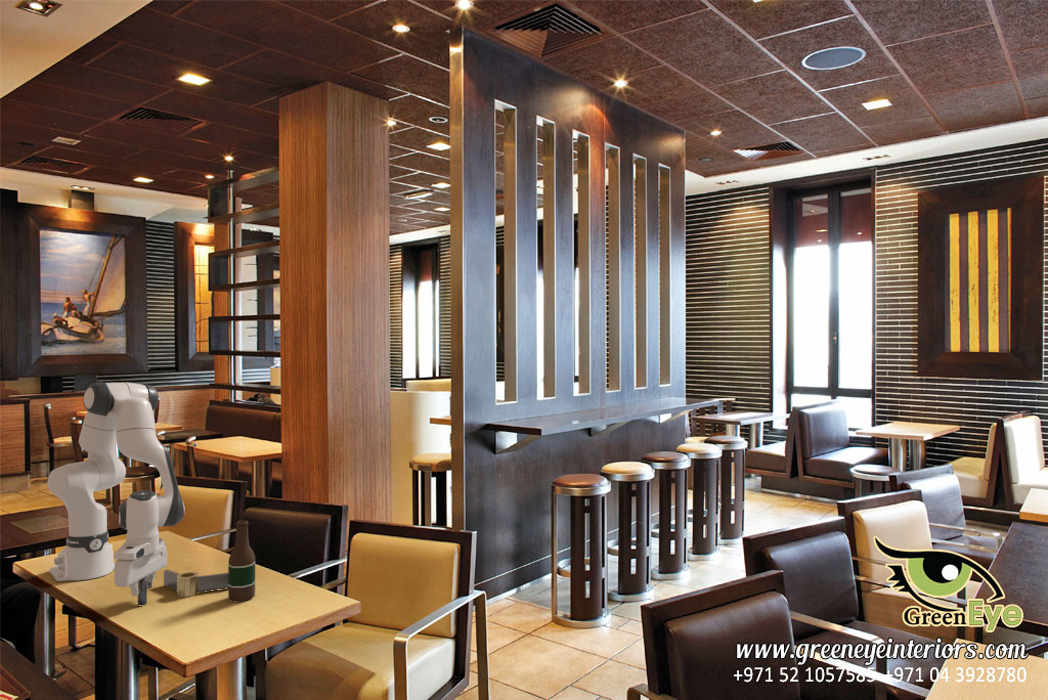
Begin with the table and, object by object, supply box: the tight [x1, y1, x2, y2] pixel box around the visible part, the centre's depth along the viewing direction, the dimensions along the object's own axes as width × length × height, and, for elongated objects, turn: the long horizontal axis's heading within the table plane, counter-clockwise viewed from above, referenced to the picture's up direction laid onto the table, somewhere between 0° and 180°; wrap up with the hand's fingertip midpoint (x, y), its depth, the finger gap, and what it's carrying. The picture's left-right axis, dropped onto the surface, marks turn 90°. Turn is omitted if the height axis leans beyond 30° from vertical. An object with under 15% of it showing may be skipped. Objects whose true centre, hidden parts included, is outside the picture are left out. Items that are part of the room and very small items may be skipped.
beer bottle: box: [227, 519, 256, 603], centre depth 214 cm, size 8×8×24 cm
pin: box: [137, 576, 148, 606], centre depth 208 cm, size 2×2×9 cm
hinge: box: [163, 569, 228, 598], centre depth 223 cm, size 21×15×6 cm
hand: (142, 591), depth 208 cm, fingers open, 5 cm apart
